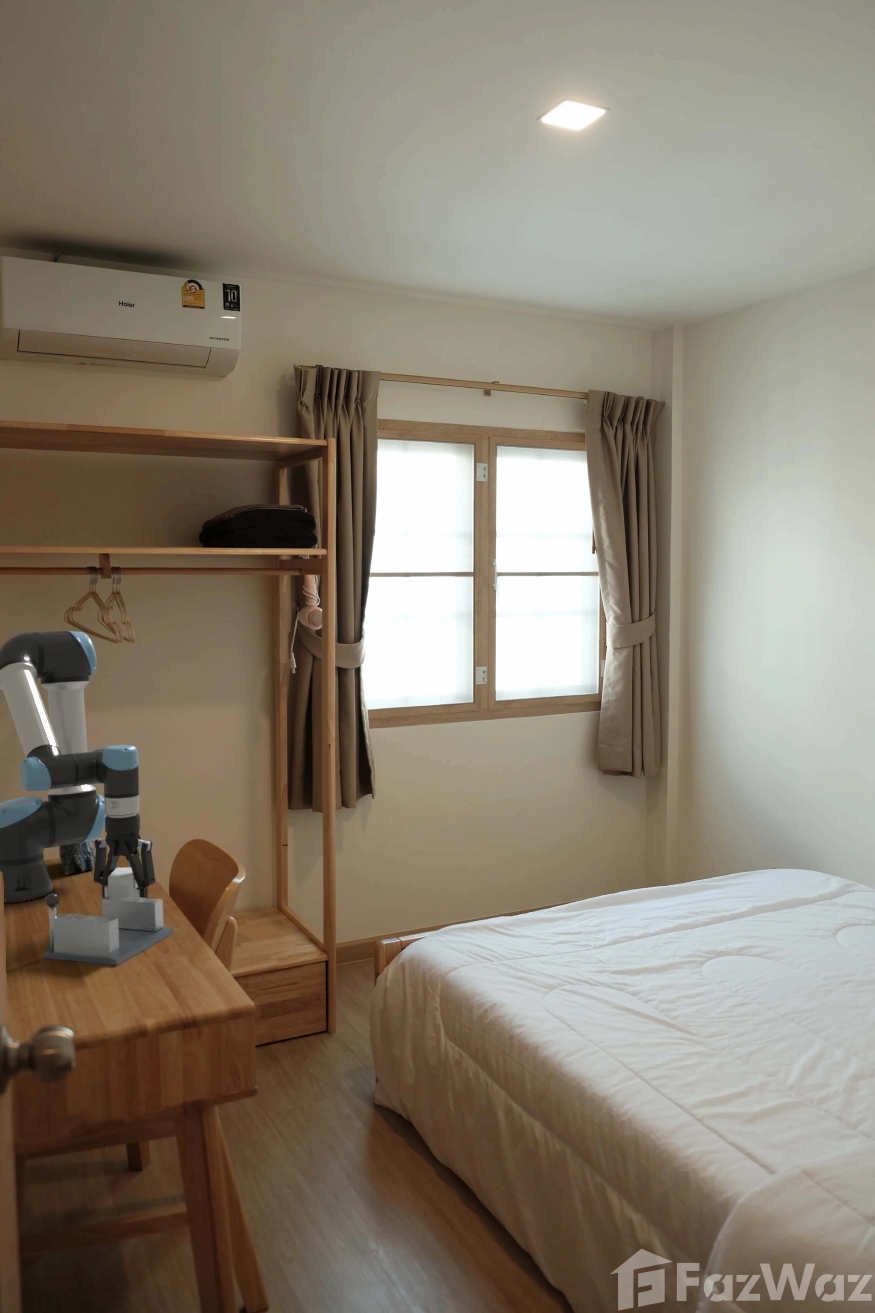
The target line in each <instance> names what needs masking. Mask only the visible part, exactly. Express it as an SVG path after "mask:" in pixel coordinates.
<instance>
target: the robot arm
mask: <svg viewBox="0 0 875 1313" xmlns="http://www.w3.org/2000/svg"><path fill="white" fill-rule="evenodd" d="M95 649H96V648H95V647H94V643H93V642H92V639H91V638H90V637H89V636H88V635H87V633H85V632H83V631H77V630H75V631H72V630H61V631H59V630H58V631H39V632H38V631H35V632H34V631H33V632H32V631H27V632H26V631H25V632H21V633H18V634H15V635H13V636H12V637H9V638H8V639H6V641H5V642H3V644H2V645H1V646H0V690H1V691H3V694H4V697H5V700H6V702H7V706H8V708H9V712H10V715H11V718H12V720H13V724H14V727H15V729H16V732H17V736H18V738H19V742H20V744H21V748H22V751H23V753H24V757H25V758H23V759H22V760H21V761H20V765H19V777H20V783H21V787H23V789H24V790H25V791H28V792H40V791H41V792H47V791H48V790H49V791H48V792H47V800H46V801H43V799H42V797H40V796H38V795H36V796H35V795H31V796H23V797H17V798H13V799H9V800H6V801H3V802H0V871H1V872H2V873H3V881H4V903H6V904H8V903H19V902H26V900H28V901H31V900H30V899H33V898H37V899H39V898H38V897H41V896H43V897H45V896H44V895H46V896H47V894H48V895H49V893H50V892H51V893H53V881H52V878H51V877H50V874H49V871H48V868H47V866H46V863H45V857H44V850H45V849H50V848H57V847H59V846H63V845H70V844H76V843H80V844H82V843H84V842H88V841H93V843H94V844H93V845H94V849H95V862H94V863H95V864H94V867H93V869H94V872H93V882H94V883H95V884H97V883H98V884H100V886H101V896H102V899H103V898H106V897H108V877H109V875H110V874H111V873H112V872H113V871H114V870H115V869H116V868H117V864H118V862H119V858H120V857H121V856H122V857H125V859H126V861H127V862H128V863H129V866H130V867H131V869H132V872H133V875H134V877H135V880H136V883H137V886H138V887H137V888H136V889H135V897H139V898H149V897H148V896H149V895H148V894H149V893H148V892H149V891H148V889H149V888H148V887H150V886H152V885H154V884H156V874H155V869H154V868H155V867H154V861H153V854H152V850H153V849H152V848H153V841H152V840H150V839H149V840H143V839H142V837H141V835H140V830H141V816H140V814H139V812H140V811H141V809H140V808H141V807H140V804H141V803H140V786H139V785H140V784H139V782H140V781H139V780H140V775H139V764H140V759H139V754H138V749H137V747H136V746H134V745H131V744H115V745H109V746H106V747H105V748H96V749H93V750H90V751H88V740H87V739H88V738H87V723H86V721H87V720H86V709H85V707H86V706H85V693H84V690H85V688H86V687H87V685H89V684H90V677H92V676H93V675H95V674H96V671H97V664H98V663H97V661H98V660H97V655H96V650H95ZM37 679H40V686H41V687H42V688H43V689H44V690H46V692H47V699H48V712H47V708H46V706H45V703H44V700H43V698H42V695H41V693H40V689H39V687H38V684H37ZM48 713H49V715H48ZM98 784H103V796H104V797H103V796H102V795H101V794H99V793H97V788H96V787H95V786H94V785H98ZM104 830H105V833H106V835H105V837H101V838H100V836H101V835H102V833H103V832H104ZM107 847H108V848H109V851H108V850H107V849H108V848H107ZM138 848H139V849H138ZM107 851H108V854H107ZM51 893H50V894H51ZM41 898H42V897H41ZM5 899H6V901H5ZM33 900H34V899H33ZM4 903H3V904H4Z"/></svg>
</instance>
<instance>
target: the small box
mask: <svg viewBox="0 0 875 1313" xmlns="http://www.w3.org/2000/svg"><path fill="white" fill-rule="evenodd" d="M137 887H138V886H137V883H136V880H135V877H134V875H133V872H132V869H131V866H130V867H116V868H115V870H114V871H113V872H112V873H111V874H110V875H109V877H108V896H110V895H113V896H126V897H135V889H136V888H137Z"/></svg>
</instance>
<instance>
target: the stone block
mask: <svg viewBox="0 0 875 1313" xmlns="http://www.w3.org/2000/svg"><path fill="white" fill-rule="evenodd" d="M93 843H94V840H93V841H88V842H84V843H82V844H80V843H76V844H70V845H63V846H58V847H59V848H58V850H59V851H58V852H59V858H60V862H61V864H62V869H63V871H64V873H65V872H66V873H68V875H71V874H70V873H74V874H78V873H82V872H86V871H88V870H92V869H94V868H95V856H96V851H95V847H94V844H93Z"/></svg>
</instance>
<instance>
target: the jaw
mask: <svg viewBox="0 0 875 1313" xmlns="http://www.w3.org/2000/svg"><path fill="white" fill-rule="evenodd" d="M163 900H164V899H162V898H152V897H151V898H150V897H148V898H139V897H126V896H113V895H110V896H108V897H106V898H102V899H101V904H102V906H101V909H102V910H101V911H102V917H113V918H118V928H124V929H135V930H147V931H157V930H159V929H161V928H162V927H164V904H163V903H164V901H163Z"/></svg>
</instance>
